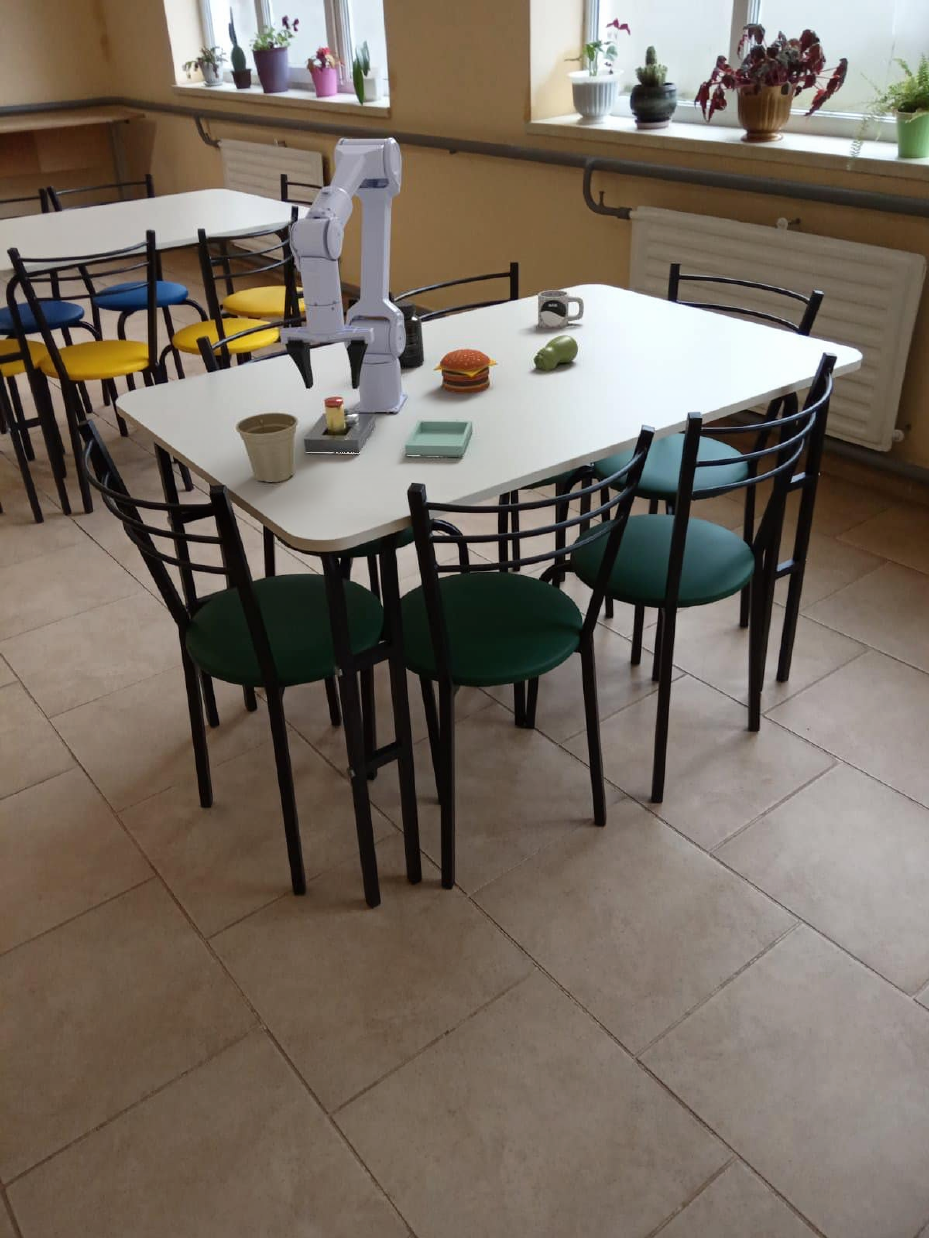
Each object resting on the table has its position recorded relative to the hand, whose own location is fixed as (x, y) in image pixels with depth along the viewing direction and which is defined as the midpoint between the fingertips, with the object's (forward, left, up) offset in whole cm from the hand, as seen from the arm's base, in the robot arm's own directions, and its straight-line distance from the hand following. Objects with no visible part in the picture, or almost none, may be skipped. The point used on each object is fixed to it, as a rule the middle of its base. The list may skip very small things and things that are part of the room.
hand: (332, 387), depth 165 cm
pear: (-45, +32, -11) cm, 56 cm away
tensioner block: (-3, 0, -10) cm, 11 cm away
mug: (-74, +32, -11) cm, 81 cm away
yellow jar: (-1, 0, -10) cm, 10 cm away
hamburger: (-32, +17, -11) cm, 37 cm away
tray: (-2, +17, -10) cm, 20 cm away
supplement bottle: (-45, +3, -11) cm, 46 cm away
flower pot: (+12, -7, -11) cm, 18 cm away
